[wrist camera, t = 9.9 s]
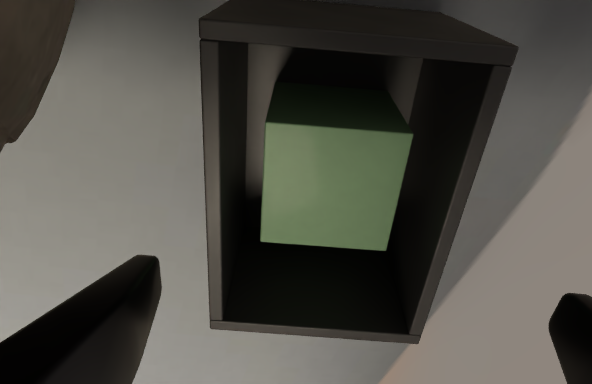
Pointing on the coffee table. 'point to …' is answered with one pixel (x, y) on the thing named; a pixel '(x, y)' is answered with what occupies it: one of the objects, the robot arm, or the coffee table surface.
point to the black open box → (417, 177)
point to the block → (332, 166)
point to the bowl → (28, 58)
